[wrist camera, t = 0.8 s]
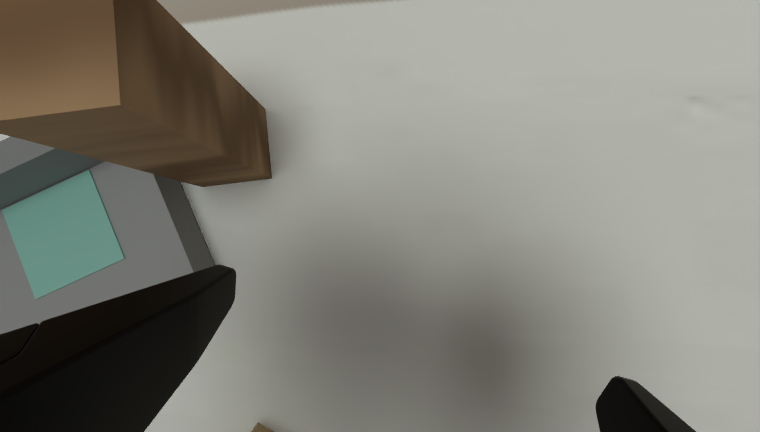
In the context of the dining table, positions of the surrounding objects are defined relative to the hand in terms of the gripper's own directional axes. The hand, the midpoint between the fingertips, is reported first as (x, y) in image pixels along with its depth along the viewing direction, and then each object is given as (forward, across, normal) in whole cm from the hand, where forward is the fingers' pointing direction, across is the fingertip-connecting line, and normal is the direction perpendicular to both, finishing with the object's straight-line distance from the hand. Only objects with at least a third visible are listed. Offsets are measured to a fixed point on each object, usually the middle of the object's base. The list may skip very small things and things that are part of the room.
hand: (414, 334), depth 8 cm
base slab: (+11, +19, +8) cm, 24 cm away
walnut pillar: (+14, +12, +2) cm, 19 cm away
